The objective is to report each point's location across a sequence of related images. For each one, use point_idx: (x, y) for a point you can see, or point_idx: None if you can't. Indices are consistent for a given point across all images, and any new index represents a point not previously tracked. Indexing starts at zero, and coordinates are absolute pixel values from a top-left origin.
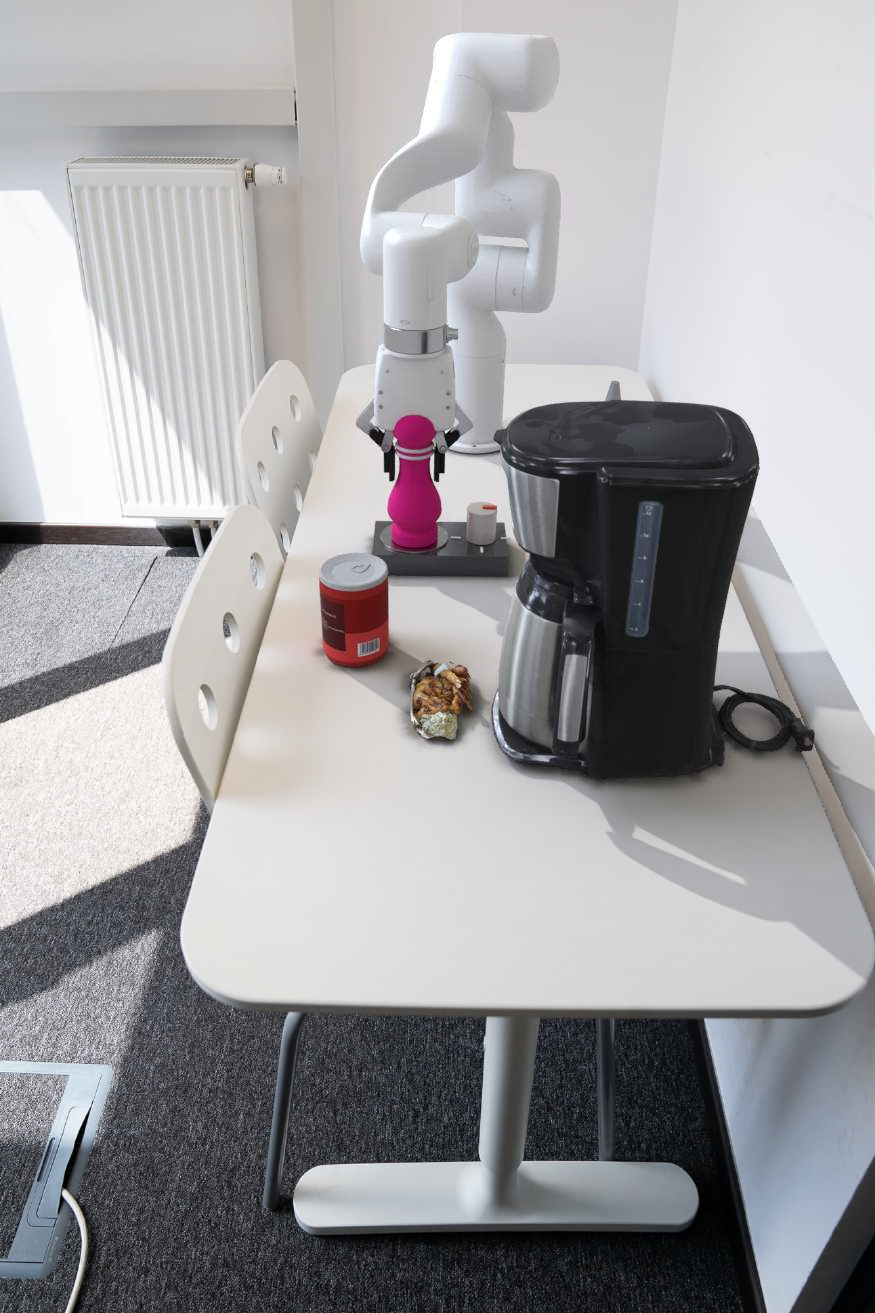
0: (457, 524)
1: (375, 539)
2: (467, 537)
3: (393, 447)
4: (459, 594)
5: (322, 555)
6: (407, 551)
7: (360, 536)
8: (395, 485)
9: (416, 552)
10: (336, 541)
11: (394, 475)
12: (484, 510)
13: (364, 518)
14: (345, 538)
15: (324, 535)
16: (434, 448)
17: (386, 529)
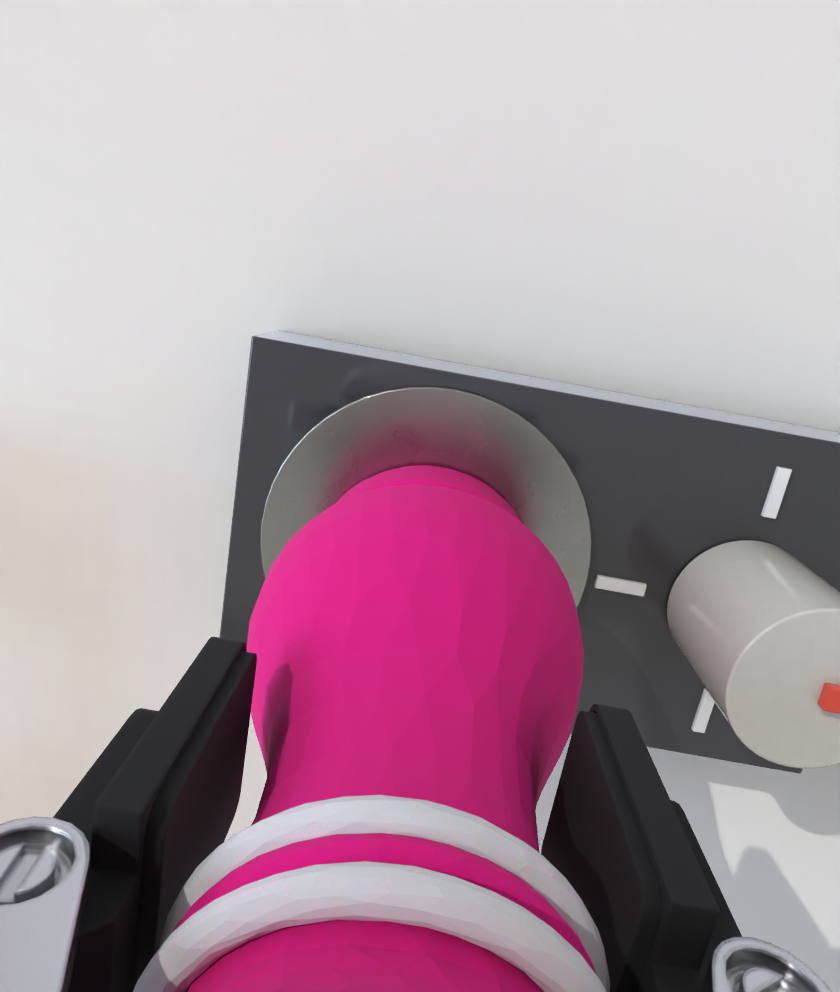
0: (670, 444)
1: (239, 537)
2: (672, 627)
3: (143, 877)
4: (543, 798)
5: (42, 437)
6: None
7: (209, 280)
8: (262, 736)
9: None
10: (98, 315)
11: (224, 837)
12: (819, 724)
13: (237, 69)
14: (139, 290)
15: (39, 243)
16: (625, 976)
17: (296, 468)
